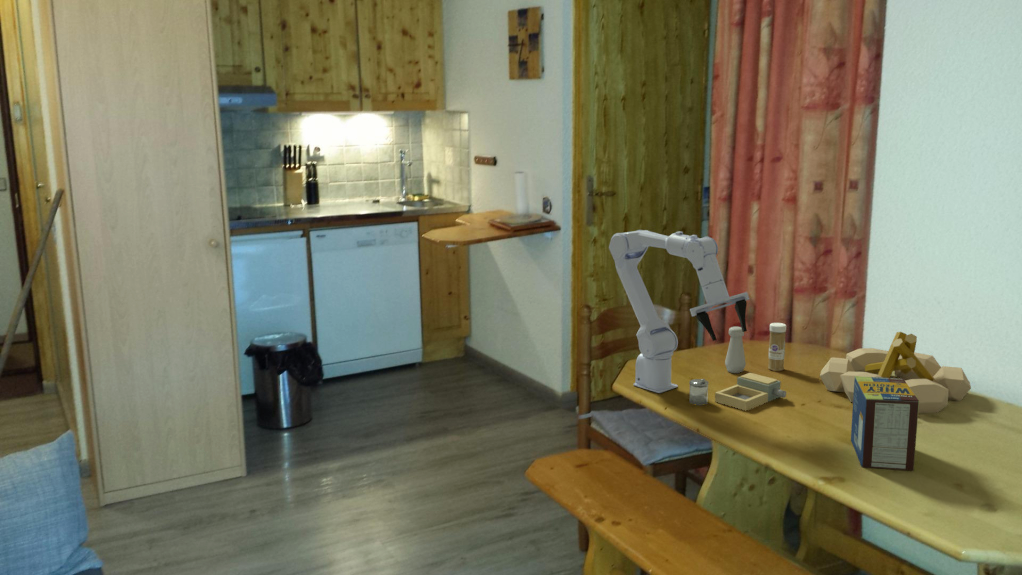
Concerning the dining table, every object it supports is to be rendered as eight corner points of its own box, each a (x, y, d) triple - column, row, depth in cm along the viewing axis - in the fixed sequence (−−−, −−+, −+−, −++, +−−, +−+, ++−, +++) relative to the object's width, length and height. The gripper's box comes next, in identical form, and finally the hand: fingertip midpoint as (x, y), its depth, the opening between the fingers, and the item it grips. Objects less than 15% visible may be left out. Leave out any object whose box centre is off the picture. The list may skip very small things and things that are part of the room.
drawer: (714, 401, 221) (715, 384, 220) (748, 388, 231) (749, 371, 230) (756, 414, 212) (757, 395, 211) (789, 400, 221) (790, 382, 220)
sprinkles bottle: (767, 370, 246) (769, 325, 243) (768, 366, 250) (770, 321, 247) (783, 372, 244) (786, 326, 241) (784, 367, 248) (786, 322, 246)
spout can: (685, 402, 222) (685, 378, 220) (696, 397, 225) (697, 374, 223) (700, 406, 218) (700, 382, 217) (711, 402, 221) (712, 378, 220)
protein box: (898, 443, 193) (904, 377, 189) (914, 471, 178) (920, 401, 175) (849, 440, 195) (853, 375, 192) (860, 467, 180) (865, 398, 177)
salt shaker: (745, 374, 243) (747, 330, 240) (725, 373, 244) (726, 329, 241) (744, 368, 248) (746, 325, 246) (724, 367, 249) (725, 324, 247)
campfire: (929, 426, 202) (934, 357, 199) (799, 393, 228) (802, 331, 224) (986, 392, 225) (993, 329, 221) (862, 365, 250) (866, 308, 246)
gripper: (685, 290, 210) (703, 343, 208) (743, 273, 208) (761, 326, 206) (683, 293, 217) (700, 344, 215) (739, 276, 215) (756, 328, 213)
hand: (729, 336), depth 211 cm, fingers open, 7 cm apart
